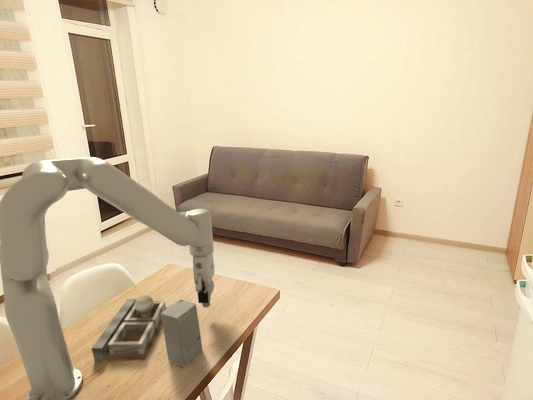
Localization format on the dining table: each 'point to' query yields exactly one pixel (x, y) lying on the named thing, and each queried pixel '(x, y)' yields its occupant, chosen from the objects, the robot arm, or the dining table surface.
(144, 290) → the dining table surface
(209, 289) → the lightbulb
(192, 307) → the skincare box
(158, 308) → the compartment tray
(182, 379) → the dining table surface
